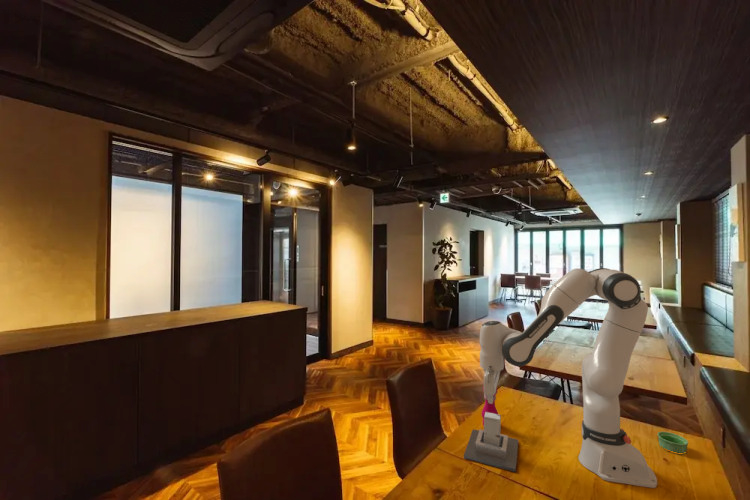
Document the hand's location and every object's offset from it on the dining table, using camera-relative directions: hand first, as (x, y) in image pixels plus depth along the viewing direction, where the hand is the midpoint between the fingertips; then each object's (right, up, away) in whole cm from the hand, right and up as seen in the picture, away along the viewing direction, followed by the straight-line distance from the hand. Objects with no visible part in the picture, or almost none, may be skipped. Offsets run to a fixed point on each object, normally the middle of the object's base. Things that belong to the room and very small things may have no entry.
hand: (492, 397), depth 129 cm
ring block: (0, -21, 0) cm, 21 cm away
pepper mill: (+6, -21, +18) cm, 28 cm away
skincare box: (0, -20, +1) cm, 20 cm away
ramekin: (+72, -21, +1) cm, 74 cm away
